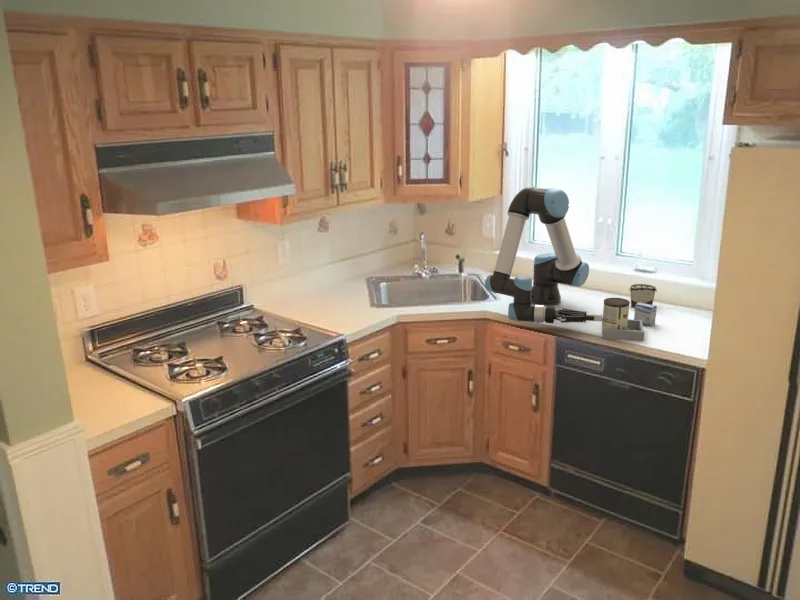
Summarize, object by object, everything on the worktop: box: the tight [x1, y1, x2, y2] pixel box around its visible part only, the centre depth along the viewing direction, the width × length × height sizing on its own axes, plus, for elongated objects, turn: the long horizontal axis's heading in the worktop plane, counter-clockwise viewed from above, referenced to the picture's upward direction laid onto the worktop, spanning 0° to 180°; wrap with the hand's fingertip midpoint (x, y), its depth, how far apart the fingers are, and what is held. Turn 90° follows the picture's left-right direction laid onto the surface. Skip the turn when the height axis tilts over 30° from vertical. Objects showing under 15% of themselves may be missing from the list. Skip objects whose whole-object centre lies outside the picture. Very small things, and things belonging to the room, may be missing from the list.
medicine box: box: [633, 302, 657, 327], centre depth 296 cm, size 8×4×9 cm, turn 45°
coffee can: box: [601, 297, 631, 333], centre depth 285 cm, size 10×10×14 cm
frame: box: [601, 318, 645, 342], centre depth 285 cm, size 16×15×4 cm
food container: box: [628, 283, 658, 309], centre depth 320 cm, size 12×6×10 cm, turn 84°
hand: (602, 318), depth 286 cm, fingers closed
